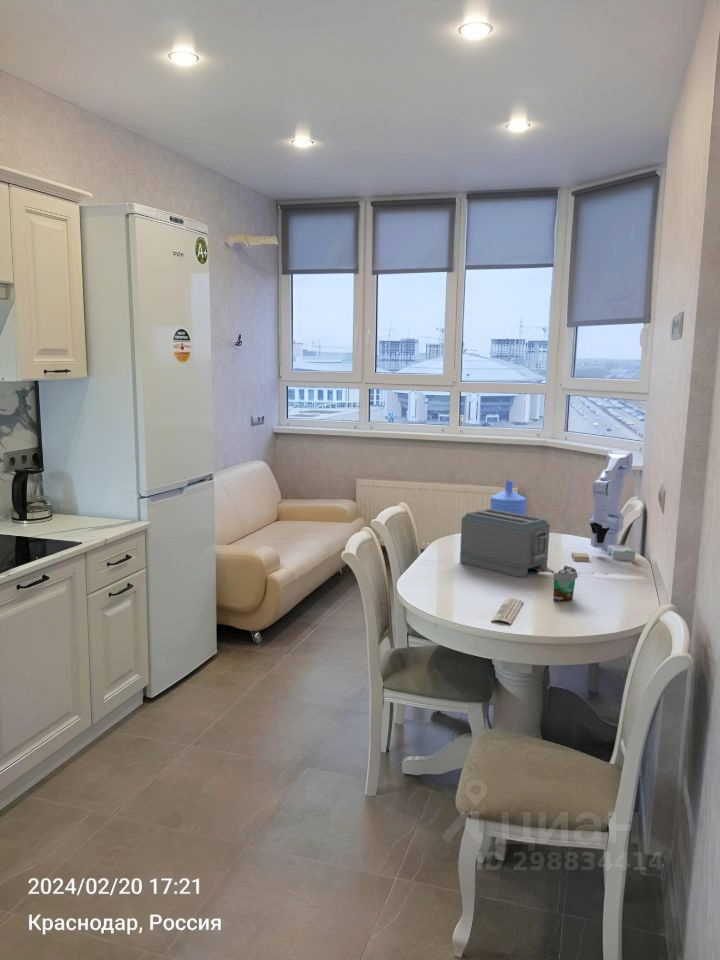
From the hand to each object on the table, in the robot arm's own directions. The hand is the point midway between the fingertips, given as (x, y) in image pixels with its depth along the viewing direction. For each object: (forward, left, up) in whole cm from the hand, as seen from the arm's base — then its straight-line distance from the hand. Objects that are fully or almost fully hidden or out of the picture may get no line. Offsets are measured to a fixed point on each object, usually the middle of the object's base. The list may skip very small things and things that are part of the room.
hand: (598, 541), depth 302 cm
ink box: (+6, +9, -5) cm, 12 cm away
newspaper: (+70, -52, -9) cm, 87 cm away
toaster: (+16, -41, -8) cm, 44 cm away
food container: (+55, -28, -8) cm, 62 cm away
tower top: (+6, -9, -6) cm, 12 cm away
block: (0, 0, -2) cm, 2 cm away
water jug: (-25, -33, -8) cm, 42 cm away
